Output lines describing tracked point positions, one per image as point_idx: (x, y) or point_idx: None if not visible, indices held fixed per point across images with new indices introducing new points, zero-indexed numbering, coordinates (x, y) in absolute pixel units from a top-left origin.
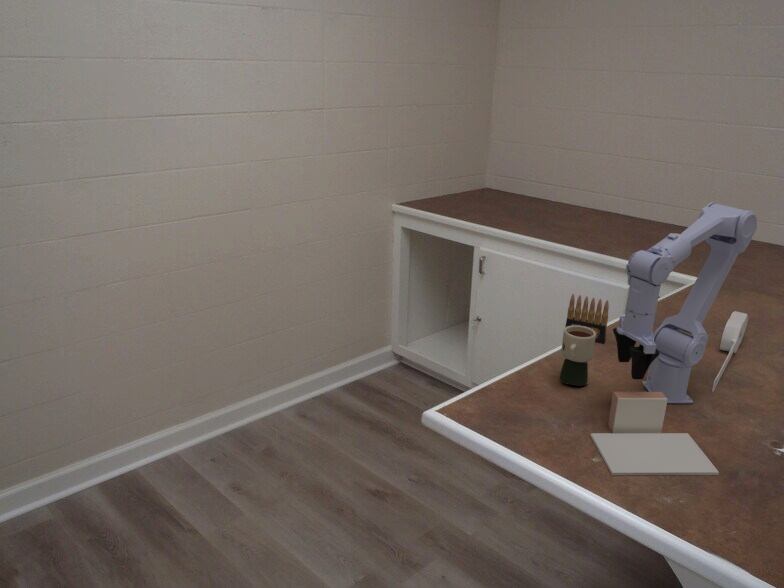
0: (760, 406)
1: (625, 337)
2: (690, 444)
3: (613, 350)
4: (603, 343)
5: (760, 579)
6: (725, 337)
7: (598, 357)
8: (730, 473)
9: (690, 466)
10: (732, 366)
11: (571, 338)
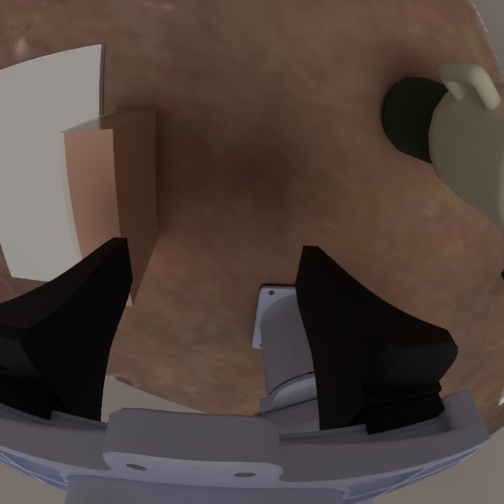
0: (235, 409)
1: (346, 372)
2: None
3: (480, 282)
4: (502, 274)
5: None
6: None
7: (478, 242)
8: (25, 292)
9: (11, 239)
10: None
11: None
